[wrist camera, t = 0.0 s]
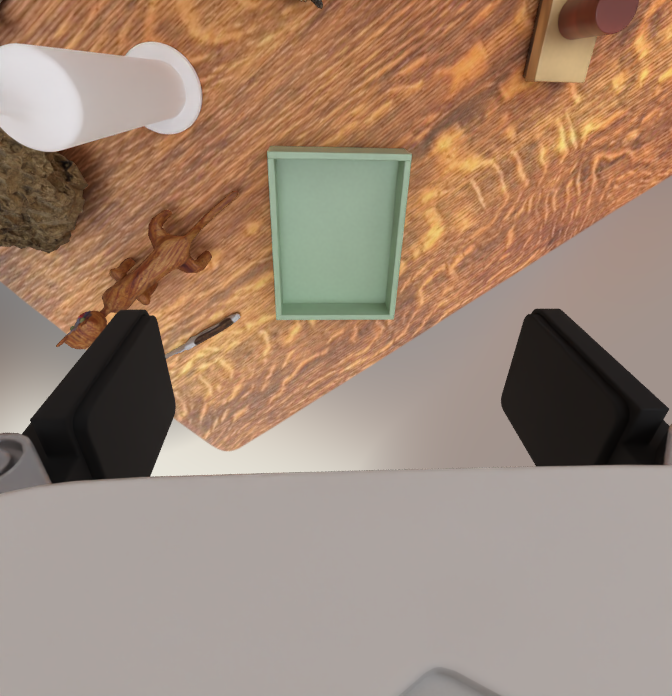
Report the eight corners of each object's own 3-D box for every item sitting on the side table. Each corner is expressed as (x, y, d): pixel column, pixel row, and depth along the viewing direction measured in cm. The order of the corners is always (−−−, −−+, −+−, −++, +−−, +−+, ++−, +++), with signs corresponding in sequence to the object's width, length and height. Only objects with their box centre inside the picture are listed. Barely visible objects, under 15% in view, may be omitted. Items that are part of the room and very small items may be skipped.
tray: (270, 145, 42) (266, 151, 38) (404, 148, 42) (412, 154, 39) (278, 304, 51) (276, 320, 48) (388, 304, 52) (393, 319, 48)
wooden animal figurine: (216, 160, 42) (181, 192, 30) (261, 214, 45) (245, 261, 33) (98, 267, 47) (29, 328, 36) (145, 309, 50) (96, 378, 39)
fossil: (-41, 123, 40) (-11, 41, 30) (97, 215, 49) (156, 175, 38) (-121, 219, 36) (-117, 163, 26) (44, 300, 45) (95, 282, 34)
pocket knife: (237, 308, 51) (235, 316, 49) (242, 314, 51) (240, 322, 49) (149, 358, 54) (144, 368, 52) (154, 363, 54) (149, 373, 53)
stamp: (546, -49, 35) (610, -82, 28) (599, -46, 35) (676, -79, 28) (519, 81, 40) (566, 81, 32) (565, 82, 40) (623, 83, 33)
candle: (174, 26, 36) (-12, -45, 15) (217, 114, 40) (115, 155, 19) (104, 63, 37) (-160, 45, 16) (152, 146, 41) (-14, 218, 20)
